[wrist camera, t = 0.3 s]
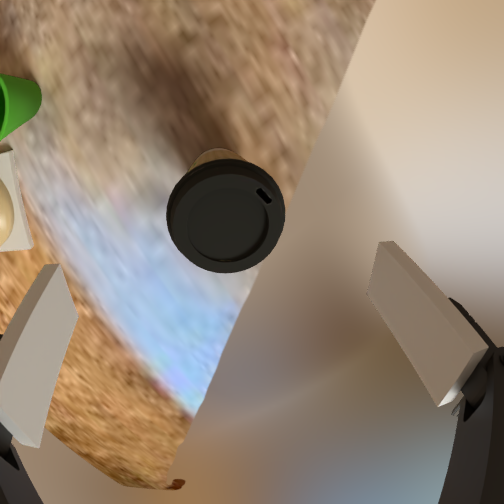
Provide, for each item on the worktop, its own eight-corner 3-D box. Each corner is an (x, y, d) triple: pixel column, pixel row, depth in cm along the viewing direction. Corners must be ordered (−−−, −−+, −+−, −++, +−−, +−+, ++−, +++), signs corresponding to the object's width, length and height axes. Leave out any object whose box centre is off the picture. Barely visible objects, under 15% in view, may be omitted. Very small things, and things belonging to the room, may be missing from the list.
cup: (26, 149, 31) (-22, 176, 22) (-11, 105, 27) (-63, 121, 17) (69, 96, 29) (24, 105, 20) (30, 51, 25) (-21, 49, 15)
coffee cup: (160, 173, 36) (137, 228, 23) (220, 115, 34) (233, 136, 21) (216, 225, 41) (225, 299, 28) (275, 174, 38) (314, 227, 26)
